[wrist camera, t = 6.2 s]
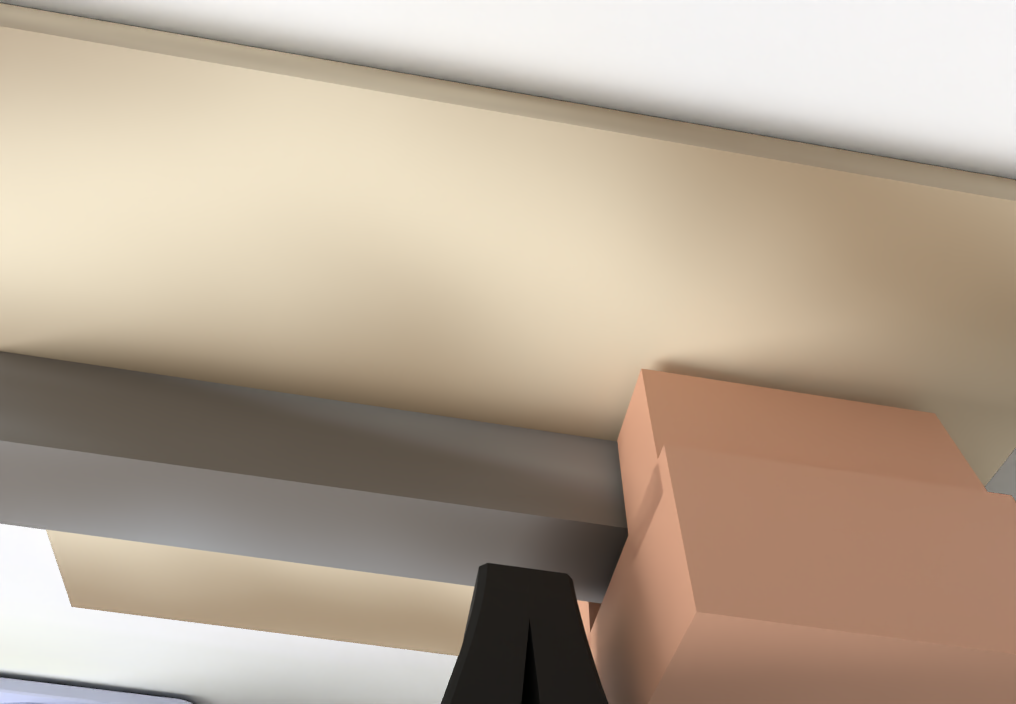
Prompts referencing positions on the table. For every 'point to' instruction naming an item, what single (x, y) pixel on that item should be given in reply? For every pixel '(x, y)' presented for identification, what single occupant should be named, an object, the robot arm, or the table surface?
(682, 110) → the table surface
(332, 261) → the rail board
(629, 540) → the block
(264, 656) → the table surface
